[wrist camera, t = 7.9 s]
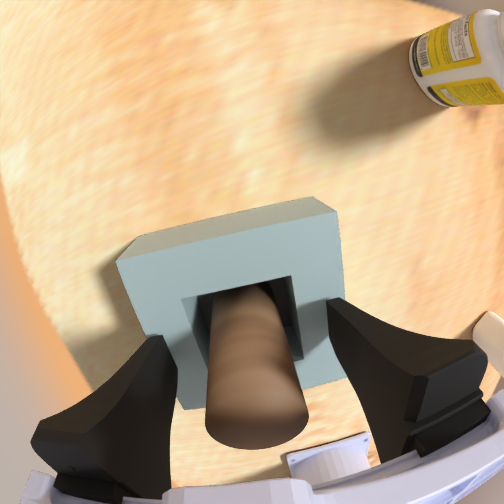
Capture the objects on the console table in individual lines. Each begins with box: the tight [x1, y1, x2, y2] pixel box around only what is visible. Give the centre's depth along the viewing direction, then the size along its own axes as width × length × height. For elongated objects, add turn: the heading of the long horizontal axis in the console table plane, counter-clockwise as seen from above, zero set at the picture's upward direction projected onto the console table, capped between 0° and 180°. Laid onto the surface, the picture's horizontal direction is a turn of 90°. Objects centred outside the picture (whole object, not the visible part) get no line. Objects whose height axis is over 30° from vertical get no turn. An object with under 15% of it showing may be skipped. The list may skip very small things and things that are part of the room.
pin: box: [205, 281, 309, 450], centre depth 12 cm, size 3×3×8 cm
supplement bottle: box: [409, 9, 504, 107], centre depth 8 cm, size 5×5×8 cm
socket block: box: [115, 197, 347, 410], centre depth 14 cm, size 9×9×4 cm
